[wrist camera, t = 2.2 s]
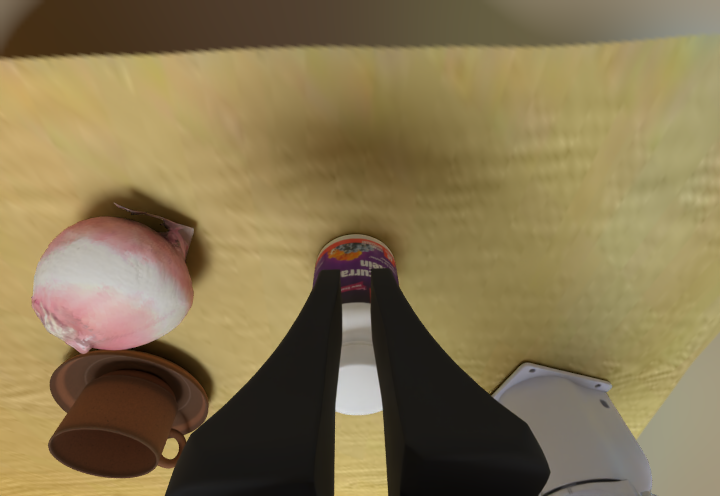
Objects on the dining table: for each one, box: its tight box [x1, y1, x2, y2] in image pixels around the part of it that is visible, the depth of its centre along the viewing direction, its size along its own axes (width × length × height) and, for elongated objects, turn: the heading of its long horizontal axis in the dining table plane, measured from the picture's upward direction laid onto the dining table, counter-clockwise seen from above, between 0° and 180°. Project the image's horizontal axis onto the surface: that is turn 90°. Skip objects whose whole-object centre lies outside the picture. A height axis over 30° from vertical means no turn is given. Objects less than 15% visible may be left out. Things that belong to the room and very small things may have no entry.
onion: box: [31, 203, 194, 354], centre depth 21 cm, size 8×8×7 cm
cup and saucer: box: [48, 349, 208, 478], centre depth 30 cm, size 12×12×6 cm
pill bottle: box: [312, 234, 399, 415], centre depth 21 cm, size 5×5×10 cm
